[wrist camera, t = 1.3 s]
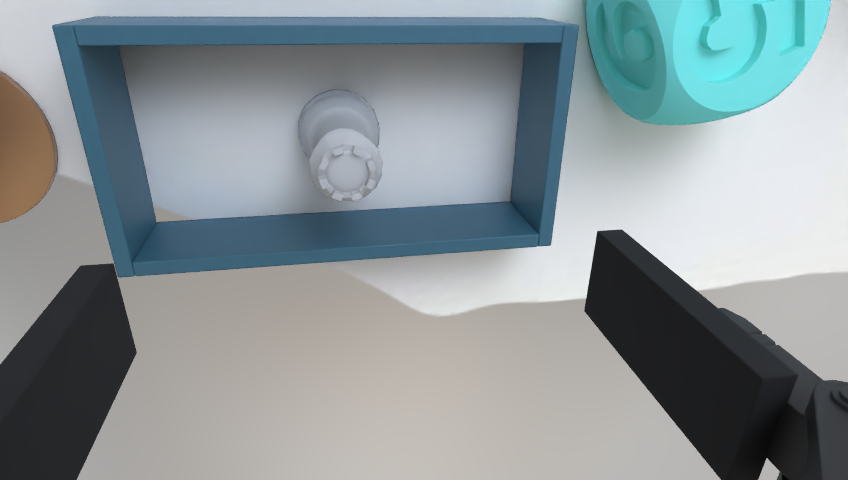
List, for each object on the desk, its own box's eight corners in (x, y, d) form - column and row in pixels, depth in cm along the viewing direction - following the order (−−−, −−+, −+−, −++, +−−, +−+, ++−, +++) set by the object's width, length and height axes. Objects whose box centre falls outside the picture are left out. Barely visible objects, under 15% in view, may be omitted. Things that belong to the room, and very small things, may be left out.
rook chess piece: (348, 181, 32) (359, 239, 25) (282, 137, 30) (273, 187, 23) (394, 119, 31) (419, 162, 24) (328, 70, 29) (334, 101, 22)
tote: (144, 235, 31) (117, 278, 27) (94, 16, 26) (50, 25, 22) (521, 212, 35) (551, 246, 31) (540, 17, 30) (579, 25, 26)
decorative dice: (721, 57, 33) (833, 79, 26) (599, 105, 33) (678, 141, 26) (710, -89, 29) (838, -109, 22) (573, -35, 29) (657, -38, 22)
